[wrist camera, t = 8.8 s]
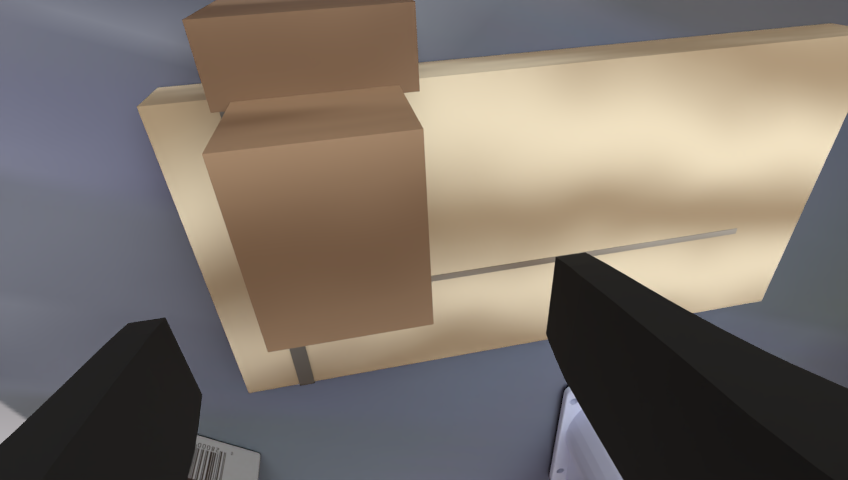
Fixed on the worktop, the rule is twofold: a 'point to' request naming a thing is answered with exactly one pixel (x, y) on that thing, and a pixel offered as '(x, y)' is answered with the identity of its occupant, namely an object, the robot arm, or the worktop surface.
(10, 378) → the worktop surface
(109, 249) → the worktop surface
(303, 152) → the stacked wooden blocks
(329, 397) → the worktop surface
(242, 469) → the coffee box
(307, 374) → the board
